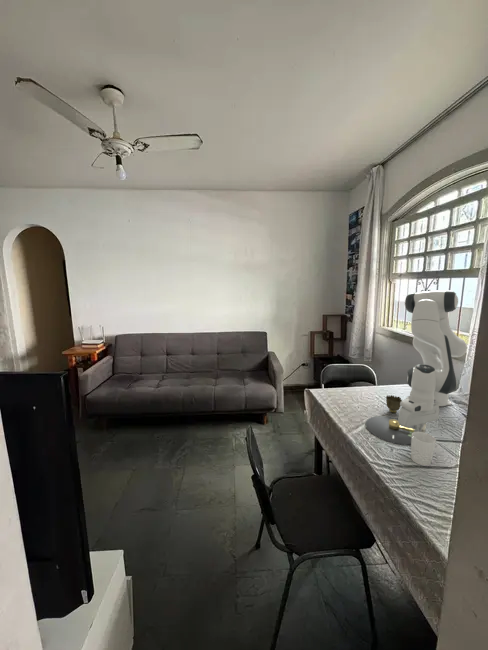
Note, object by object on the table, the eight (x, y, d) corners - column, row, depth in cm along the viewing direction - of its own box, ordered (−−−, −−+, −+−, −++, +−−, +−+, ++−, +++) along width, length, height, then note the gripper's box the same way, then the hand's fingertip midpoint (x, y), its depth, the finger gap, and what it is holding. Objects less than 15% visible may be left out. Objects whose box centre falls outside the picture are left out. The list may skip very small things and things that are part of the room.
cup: (402, 416, 145) (404, 401, 144) (387, 414, 147) (388, 400, 145) (398, 409, 152) (399, 395, 151) (383, 408, 154) (384, 394, 152)
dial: (368, 413, 148) (368, 411, 148) (422, 424, 136) (422, 423, 136) (362, 435, 127) (363, 433, 127) (425, 451, 116) (425, 448, 115)
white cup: (407, 452, 115) (410, 429, 113) (430, 457, 112) (433, 433, 110) (410, 464, 108) (413, 440, 106) (435, 469, 105) (438, 444, 103)
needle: (387, 428, 131) (389, 416, 130) (389, 424, 135) (390, 412, 134) (424, 438, 123) (425, 425, 122) (425, 433, 126) (426, 421, 125)
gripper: (431, 396, 127) (428, 424, 130) (397, 402, 121) (394, 432, 123) (445, 402, 121) (441, 431, 124) (410, 409, 115) (406, 440, 117)
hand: (417, 432), depth 123 cm, fingers closed
